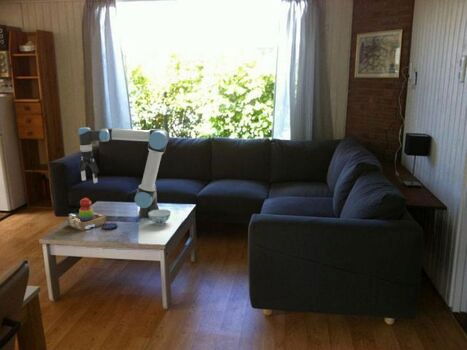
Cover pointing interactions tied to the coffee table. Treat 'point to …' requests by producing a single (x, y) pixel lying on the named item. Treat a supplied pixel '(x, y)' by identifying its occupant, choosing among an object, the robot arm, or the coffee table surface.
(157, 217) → the chinaware
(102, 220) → the crate
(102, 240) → the coffee table surface
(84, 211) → the stacking bear
